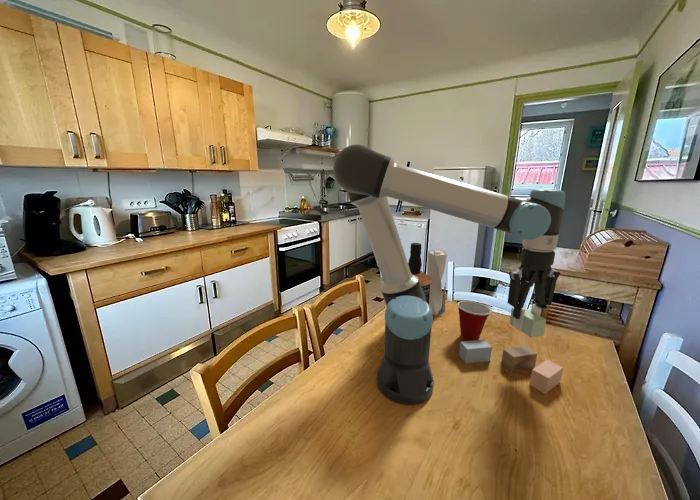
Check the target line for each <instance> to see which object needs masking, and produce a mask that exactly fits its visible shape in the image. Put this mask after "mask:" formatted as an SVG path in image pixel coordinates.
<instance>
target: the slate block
mask: <svg viewBox="0 0 700 500" xmlns="http://www.w3.org/2000/svg"><path fill="white" fill-rule="evenodd" d="M459 343H460V344H459V353H458V356H459V357H460V359H462V361H463V363H465V364H472V363H484V362H491V357H492V349H493V346H492V345H490V343H488V342H487V340H486V339H478V340H474V341H466V340H464V341H460V342H459Z"/></svg>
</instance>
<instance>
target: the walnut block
mask: <svg viewBox="0 0 700 500" xmlns="http://www.w3.org/2000/svg"><path fill="white" fill-rule="evenodd" d="M537 358H538V353H537V352H535V351H534V350H533V349H532V348H530V347H529V346H527V345H522V346H516V347H509V348H508V347H507V348H503V351H502V356H501V364H502V365H503V366H504V367H505V368H506V369H507V370H509V372H511V373H512V372H518V371H524V370H530V369H531V370H532V369H534V368H535V367H536V362H537Z"/></svg>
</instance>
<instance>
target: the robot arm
mask: <svg viewBox="0 0 700 500" xmlns="http://www.w3.org/2000/svg"><path fill="white" fill-rule="evenodd" d="M332 167H333V168H332V169H333V170H332V171H333V175H334V180H335V181H336V183H337V184H338V186H340V188H342V189H343V190H345V191H346V193H347V196H348V199H349V202H350V204H351V205H353V206H355V207H356V208H357V209H358V211H359V215H360V218H361V221H362V223H363V226H364V229H365V232H366V235H367V238H368V240H369V243H370V244H369V245H370V246H371V249H372V253H373V255H374V258H375V261H376V263H377V267H378V270H379V272H380V275H381V278H382V282H383V283H382V285H381V288H380V291H381V294H382V297H383V299H384V302H385V306H386V308H385V312H384V321H385V322H384V323H385V325H384V349H383V350H384V351H383V353H384V354H383V357H382V359H381V362H380V364H379V367H378V369H377V372H376V384H377V388H378V389H379V391H380V392H381V393H382V394H383V395H384V397H386V398H387V399H389V400H391V401H393V402H395V403H398V404H403V405H417V404H421V403H424V402H425V401H427V400H428V399H429V398H431V396H432V395H433V393H434V392H433V391H434V384H435V382H434V380H435V379H434V376H433V372H432V369H431V365H430V362H429V358H430V350H431V349H430V347H431V338H432V335H431V334H432V326H433V322H434V319H433V317H434V315H432V310H431V307H430V306H429V304H428V303H427V302H426V297H425V294H424V292H423V290H422V288H421V285H420V282H419V279H418V277H417V276H415V275H412V274H411V271H410V268H409V265H408V262H409V261H408V259H407V257H406V253H405V250H404V246H403V243H402V240H401V238H400V234H399V232H398V231H399V230H398V228H397V225H396V222H395V219H394V216H393V213H392V210H391V206H390V204H389V201H388V198H391V199H395V200H399V201H402V202H405V203H408V204H412V205H413V206H414V205H416V206H418V207H422V208H425V209H427V210H430V211H434V212H439V213H441V214H445V215H448V216H452V217H455V218H459V219H462V220H466V221H468V222H472V223H476V224H478V225H481V226H485V227H489V228H492V229H494V230H498V231H501V232H504V233H508V234H510V235H513V236H514V237H516V238H519V239H522V248H521V253H520V262H521V263H520V266H519V268H518V270H515V271H513V270H511V271H509V272H508V276H509V287H508V293H507V294H508V295H507V304H508V305H510V306H512V308H514V310H513V317H514V323H513V327H514V328H515V329H517V330H518V331H519V332H522V327H523V321H524V315H525V309H524V308H523V307H524V306H525V304H526V301H527V298H528V295H529V293H530V290H531V288H532V287H534V303H533V304H531V307H530V311H532V312H534V313H536V314H537V315H539V316H541V317H543V312H544V309H545V310H546V309H547V308H548V306H551V305H552V303H553V298H554V294H555V290H556V289H555V288H556V285H557V280H558V279H559V277H560V275H561V272H560V271H558V270H555V269H553V268H552V266H553V265H554V263H555V257H556V252H555V250H556V249H557V245H558V240H559V236H560V235H559V234H560V230H561V229H560V228H561V224H562V218H563V214H564V210H565V203H566V193H565V191H564V190H561V189H551V188H550V189H549V188H548V189H544V188H541V189H538V188H536V189H531V191H530V194H529V196H523V197H517V196H515V197H513V196H508V195H506V194H503V193H499V192H495V191H493V190H488V189H486V188H482V187H478V186H474V185H472V184H468V183H464V182H460V181H459V180H458V181H457V180H454V179H452V178H448V177H444V176H440V175H437V174H433V173H429V172H426V171H423V170H420V169H415V168H413V167H409V166H406V165H403V164H399V163H396V161H395V159H394V157H391V156H389V155H385V154H382V153H380V152H377V151H375V150H373V149H372V148H369V147H368V146H365V145H363V144H351V145H348V146H346V147H344V148H342V150H340V151H339V152H338V154H337V155H336V157H335V160H334V161H333V165H332Z"/></svg>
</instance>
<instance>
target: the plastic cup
mask: <svg viewBox="0 0 700 500" xmlns="http://www.w3.org/2000/svg"><path fill="white" fill-rule="evenodd" d="M457 308H458V314H459V317H458V318H459V319H458V320H459V329H460V336H461V339H463V340H464V341H474V340H480V337H481V334H482V332H483V330H484V327H485V324H486V322H487V319H488V317H489V316H490V315H491V313H492V309H491V308H490V307H489V306H487V305H485V304H483V303H480V302H475V301H470V300H461V301H458V302H457Z"/></svg>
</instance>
